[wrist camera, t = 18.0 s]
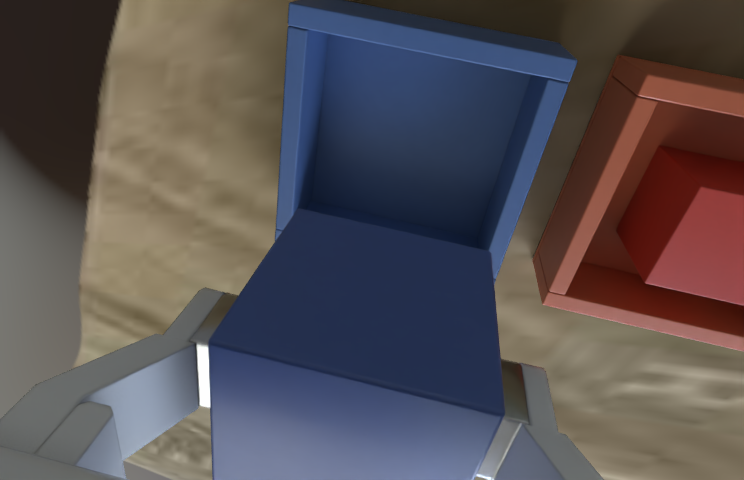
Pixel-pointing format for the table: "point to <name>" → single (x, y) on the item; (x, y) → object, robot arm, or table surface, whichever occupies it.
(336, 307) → the blue block
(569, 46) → the table surface
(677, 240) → the red block
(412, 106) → the blue bin
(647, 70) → the red bin
